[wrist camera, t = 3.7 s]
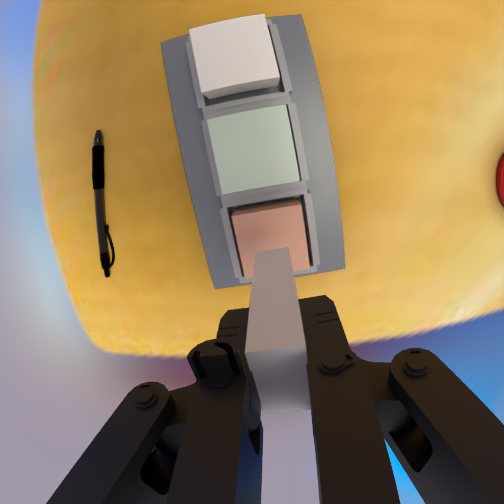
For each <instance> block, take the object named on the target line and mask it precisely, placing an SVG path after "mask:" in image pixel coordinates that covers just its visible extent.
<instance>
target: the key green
mask: <svg viewBox="0 0 504 504" xmlns="http://www.w3.org/2000/svg"><path fill="white" fill-rule="evenodd" d="M207 124H208V129H209V133H210V138H211V143H212V148H213V153H214V157H215V162H216V167H217V172H218V176H219V181H220V186H221V190H222V195H224V194H229V193H234V192H240V191H245V190H250V189H256V188H262V187H267V186H273V185H279V184H285V183H292V182H298V181H300V178H299V172H298V166H297V160H296V155H295V149H294V144H293V138H292V133H291V128H290V122H289V117H288V112H287V108H286V105H279V106H272V107H266V108H260V109H255V110H249V111H244V112H239V113H234V114H229V115H225V116H220V117H216V118H211V119H207Z"/></svg>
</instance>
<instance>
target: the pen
mask: <svg viewBox="0 0 504 504" xmlns="http://www.w3.org/2000/svg"><path fill="white" fill-rule="evenodd" d="M103 153H104V147H103V145H102V135H101V132H100V130H97V131H96V134H95V137H94V146H93V148H92V154H93V155H92V160H93V161H92V162H93V163H92V164H93V165H92V180H93V189H94V197H95V212H96V223H97V233H98V242H99V250H100V261H101V266H102V269H103V270H104V274H105V277H110V267H111V266H112V265H113V263H114V260H115V252H114V247H113V243H112V239H111V237H110V234H109V232H108V230H109V226H108V224H107V225H106V222H105V209H104V192H103V188H104V156H103V155H104V154H103ZM107 236H108V239H109V242H110V246H111V250H112V262H111V264H110V256H109V251H108V243H107Z"/></svg>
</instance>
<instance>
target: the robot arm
mask: <svg viewBox="0 0 504 504" xmlns="http://www.w3.org/2000/svg"><path fill="white" fill-rule="evenodd" d="M187 359H188V361H189V364H190V366H191V368H192V370H193V372H194V375H195V377H196V379H197V380H196V383H194V384H192V385H189V386H186V387H183V388H179V389H175V390H171V391H168V389H167V388H166V387H165V386H164V385H163V384H161V383H158V382H147V383H142V384H140V385H138V386H136V387H134V388H133V389H132V390H131V391H130V392H129V393H128V394H127V396H126V397H125V398H124V400H123V401H122V402H121V404H120V405H119V406H118V408H117V409H116V410H115V411H114V413H113V414H112V416H111V417H110V418H109V419H108V421H107V422H106V423H105V425H104V426H103V427H102V429H101V430H100V432H99V433H98V434H97V435H96V437H95V438H94V439H93V441H92V442H91V444H90V445H89V446H88V448H87V449H86V450H85V451H84V453H83V454H82V455H81V457H80V458H79V459H78V461H77V462H76V464H75V465H74V466H73V468H72V469H71V470H70V472H69V473H68V474H67V476H66V477H65V478H64V480H63V481H62V483H61V484H60V485H59V487H58V488H57V489H56V491H55V492H54V494H53V495H52V497H51V498H50V499H49V500H48V502H47V503H46V504H261V486H262V484H261V483H262V454H263V426H262V423H261V419H260V417H261V409H262V413H263V414H274V413H284V412H292V411H300V410H307V409H311V414H312V425H313V436H314V443H315V453H316V464H317V475H318V487H319V500H320V504H400V500H399V495H398V491H397V486H396V482H395V478H394V474H393V470H392V466H391V462H390V459H389V455H388V451H387V447H386V444H385V440H386V442H387V443H388V445H389V446H390V448H391V449H392V451H393V453H394V454H395V456H396V457H397V459H398V461H399V462H400V464H401V465H402V467H403V469H404V470H405V472H406V473H407V475H408V476H409V478H410V480H411V481H412V483H413V484H414V486H415V488H416V489H417V491H418V492H419V494H420V496H421V497H422V498H423V500H424V502H425V504H504V425H503V424H502V423H501V421H500V420H499V419H498V418H497V417H496V416H495V415H494V414H493V413H492V412H491V411H490V410H489V409H488V407H486V405H485V404H484V403H483V402H482V401H481V400H480V399H479V398H478V397H477V396H476V395H475V394H474V393H473V392H472V391H471V390H470V389H469V388H468V387H467V386H466V385H465V384H464V383H463V382H462V381H461V380H460V379H459V378H458V377H457V376H456V375H455V374H454V373H453V372H452V371H451V370H450V369H449V368H448V367H447V366H446V365H445V364H444V363H443V362H442V361H441V360H440V359H439V358H438V357H437V356H436V355H435V354H433V353H432V352H430V351H429V350H425V349H422V348H409V349H406V350H403V351H401V352H399V353H398V354H397V355H395V357H394V358H393V360H392V362H391V363H384V362H382V363H381V362H368V361H366V360H362V359H360V358H359V357H357V356H356V354H355V353H354V352H352V351H351V349H350V347H349V344H348V341H347V338H346V335H345V332H344V330H343V327H342V324H341V321H340V319H339V316H338V313H337V310H336V307H335V305H334V302H333V301H332V300H331V299H329V298H328V297H327V296H326V295H322V296H316V297H310V298H304V299H298V296H297V290H296V285H295V279H294V274H293V268H292V263H291V258H290V253H289V247H284V248H278V249H272V250H265V251H259V252H255V258H254V268H253V277H252V287H251V297H250V307H249V308H242V309H234V310H228V311H227V312H226V313H225V314H224V316H223V317H222V318H221V319H220V323H219V328H218V332H217V338H216V339H212V340H207V341H205V342H203V343H200V344H198V345H197V346H196V347H194V348H193V349H192V350H191V351H190V352H189V354H188V356H187ZM384 439H385V440H384Z"/></svg>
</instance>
